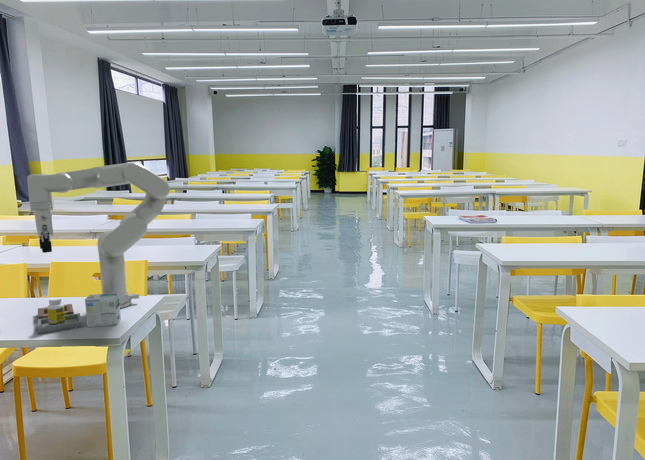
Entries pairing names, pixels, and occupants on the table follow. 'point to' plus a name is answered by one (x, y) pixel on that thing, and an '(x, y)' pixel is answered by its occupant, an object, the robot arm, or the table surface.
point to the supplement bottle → (56, 312)
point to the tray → (70, 323)
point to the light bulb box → (102, 309)
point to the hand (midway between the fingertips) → (46, 250)
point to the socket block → (44, 313)
